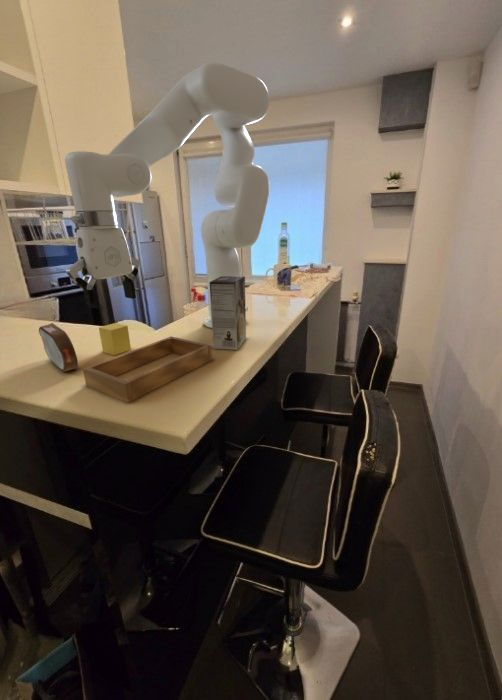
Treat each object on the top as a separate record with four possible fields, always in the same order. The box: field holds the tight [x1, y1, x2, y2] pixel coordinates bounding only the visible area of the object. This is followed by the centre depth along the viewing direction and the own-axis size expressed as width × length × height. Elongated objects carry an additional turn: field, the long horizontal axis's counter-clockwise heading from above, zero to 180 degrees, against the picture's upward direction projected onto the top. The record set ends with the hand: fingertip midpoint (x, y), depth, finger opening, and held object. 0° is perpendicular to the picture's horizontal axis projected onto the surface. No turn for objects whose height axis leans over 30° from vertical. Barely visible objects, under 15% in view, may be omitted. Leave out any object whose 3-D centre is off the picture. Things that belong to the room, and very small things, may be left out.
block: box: [98, 322, 132, 356], centre depth 77 cm, size 4×4×6 cm
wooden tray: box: [82, 335, 213, 404], centre depth 65 cm, size 22×12×4 cm, turn 147°
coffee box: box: [210, 276, 247, 351], centre depth 79 cm, size 9×6×16 cm
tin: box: [38, 322, 79, 373], centre depth 68 cm, size 15×3×8 cm, turn 44°
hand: (113, 302), depth 74 cm, fingers open, 9 cm apart
